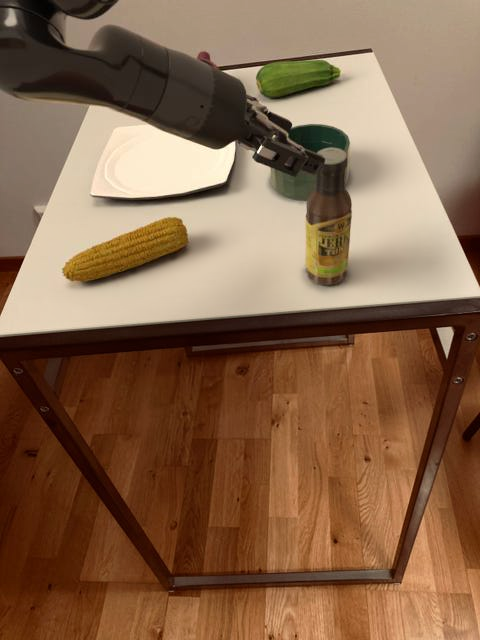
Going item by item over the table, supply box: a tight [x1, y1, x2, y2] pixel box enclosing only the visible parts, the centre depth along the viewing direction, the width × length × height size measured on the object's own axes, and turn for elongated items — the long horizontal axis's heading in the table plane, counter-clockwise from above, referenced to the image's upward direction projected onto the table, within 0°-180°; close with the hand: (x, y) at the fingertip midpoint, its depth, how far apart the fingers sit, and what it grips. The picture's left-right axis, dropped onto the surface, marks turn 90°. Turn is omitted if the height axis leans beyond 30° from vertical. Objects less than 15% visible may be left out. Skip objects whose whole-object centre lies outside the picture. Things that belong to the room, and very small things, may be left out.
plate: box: [89, 124, 237, 201], centre depth 104 cm, size 29×29×3 cm
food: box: [61, 216, 190, 283], centre depth 82 cm, size 21×6×6 cm, turn 114°
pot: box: [269, 123, 351, 202], centre depth 92 cm, size 14×14×7 cm
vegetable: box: [255, 59, 342, 99], centre depth 117 cm, size 7×7×20 cm
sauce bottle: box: [305, 148, 353, 286], centre depth 70 cm, size 6×6×20 cm
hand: (303, 147), depth 62 cm, fingers open, 8 cm apart
